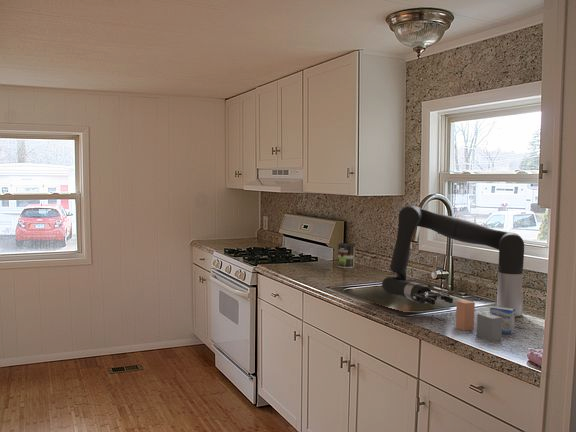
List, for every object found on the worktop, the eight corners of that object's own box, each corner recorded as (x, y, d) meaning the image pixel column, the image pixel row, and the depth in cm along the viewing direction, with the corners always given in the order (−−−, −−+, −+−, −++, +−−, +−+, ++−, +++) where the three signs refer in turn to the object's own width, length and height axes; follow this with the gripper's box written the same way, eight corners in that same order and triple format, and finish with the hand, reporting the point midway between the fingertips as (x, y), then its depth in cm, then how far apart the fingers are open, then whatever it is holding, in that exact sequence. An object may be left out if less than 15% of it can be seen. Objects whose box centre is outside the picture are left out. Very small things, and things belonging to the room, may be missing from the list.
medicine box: (488, 330, 200) (489, 307, 200) (491, 328, 204) (492, 305, 204) (511, 334, 196) (512, 310, 196) (514, 331, 200) (515, 308, 199)
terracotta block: (465, 326, 206) (466, 299, 206) (473, 329, 202) (474, 302, 202) (455, 327, 204) (456, 300, 204) (464, 330, 200) (465, 303, 200)
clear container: (349, 269, 332) (349, 245, 331) (334, 267, 338) (334, 244, 337) (357, 266, 340) (358, 244, 339) (343, 265, 346) (343, 242, 345)
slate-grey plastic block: (486, 335, 195) (487, 312, 195) (501, 340, 189) (502, 317, 188) (476, 336, 193) (477, 313, 193) (491, 341, 187) (492, 318, 186)
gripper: (403, 284, 225) (429, 292, 210) (431, 282, 231) (458, 290, 216) (402, 302, 226) (428, 312, 211) (430, 300, 231) (457, 309, 217)
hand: (443, 301), depth 214 cm, fingers open, 8 cm apart
